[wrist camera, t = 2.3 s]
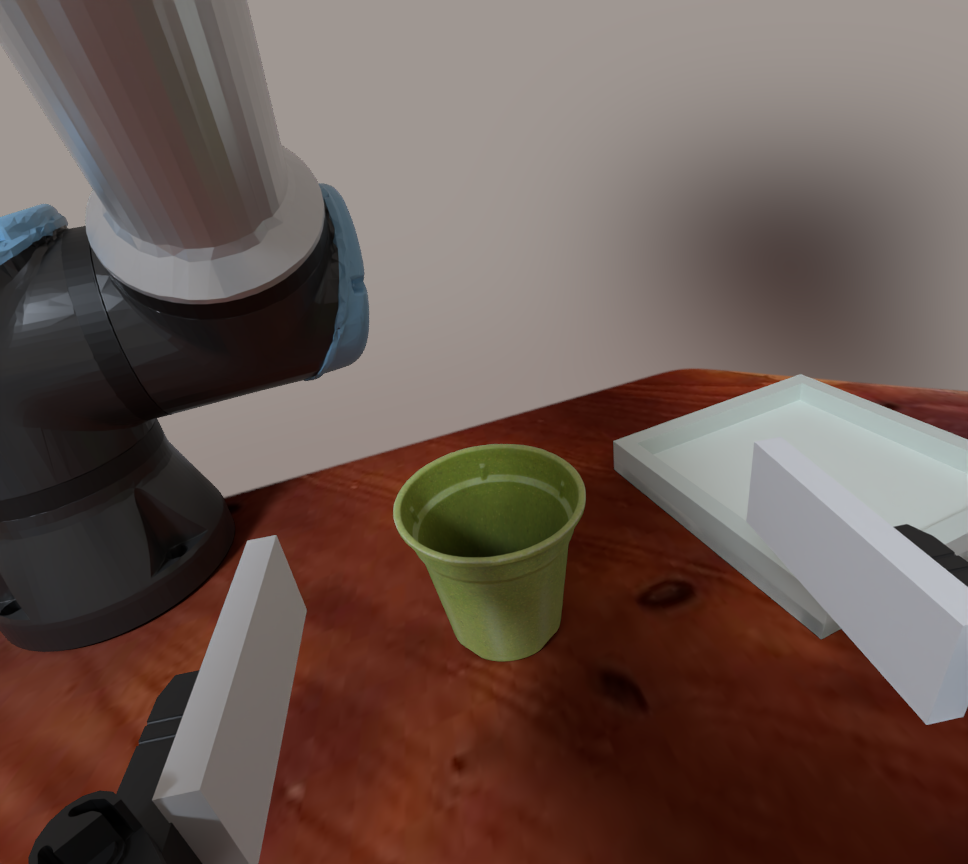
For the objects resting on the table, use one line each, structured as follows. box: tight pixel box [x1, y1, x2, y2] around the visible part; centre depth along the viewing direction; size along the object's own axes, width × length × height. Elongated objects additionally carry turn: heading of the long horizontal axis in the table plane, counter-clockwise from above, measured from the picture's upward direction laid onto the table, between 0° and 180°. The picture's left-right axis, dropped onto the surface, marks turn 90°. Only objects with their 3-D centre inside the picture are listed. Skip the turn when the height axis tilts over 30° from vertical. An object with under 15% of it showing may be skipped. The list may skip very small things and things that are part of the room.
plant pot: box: [393, 444, 586, 661], centre depth 30 cm, size 9×9×9 cm
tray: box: [613, 374, 968, 639], centre depth 38 cm, size 18×18×2 cm
